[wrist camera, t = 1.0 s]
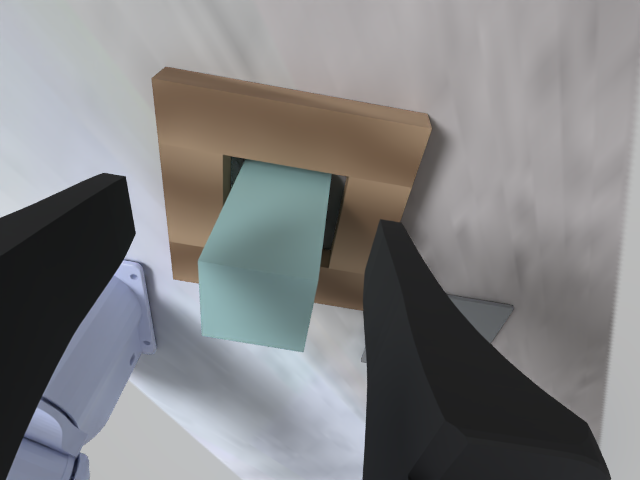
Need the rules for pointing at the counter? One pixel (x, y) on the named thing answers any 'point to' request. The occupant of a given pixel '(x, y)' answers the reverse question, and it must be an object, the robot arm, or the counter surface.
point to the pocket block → (282, 163)
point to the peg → (265, 257)
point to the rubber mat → (479, 316)
